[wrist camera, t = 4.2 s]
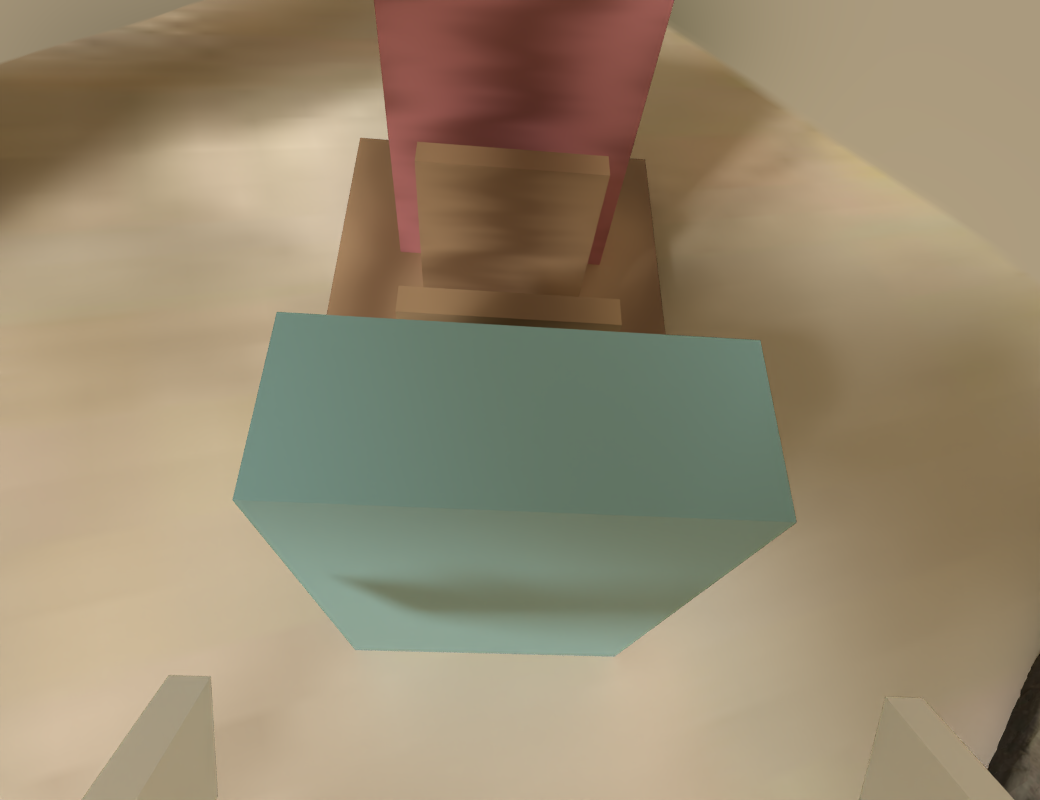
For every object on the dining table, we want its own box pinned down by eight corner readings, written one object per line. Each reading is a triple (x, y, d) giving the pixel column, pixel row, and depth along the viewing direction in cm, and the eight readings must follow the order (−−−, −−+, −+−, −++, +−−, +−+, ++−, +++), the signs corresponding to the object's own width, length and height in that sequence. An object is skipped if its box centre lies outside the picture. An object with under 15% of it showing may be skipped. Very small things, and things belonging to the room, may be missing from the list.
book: (355, 650, 25) (232, 500, 11) (368, 547, 27) (276, 311, 13) (614, 656, 26) (796, 522, 12) (608, 555, 28) (759, 339, 14)
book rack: (309, 454, 29) (149, 102, 14) (363, 159, 38) (302, -249, 23) (669, 470, 30) (888, 160, 15) (638, 179, 39) (754, -197, 24)
